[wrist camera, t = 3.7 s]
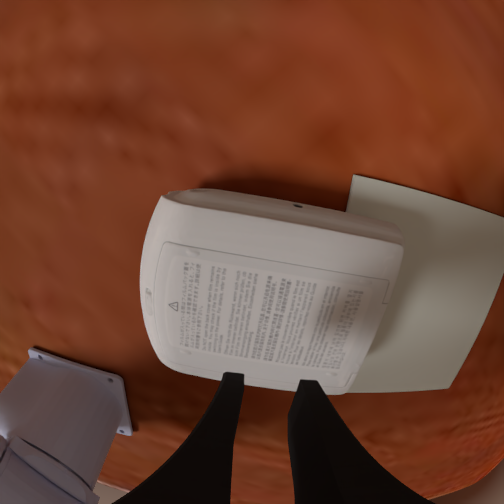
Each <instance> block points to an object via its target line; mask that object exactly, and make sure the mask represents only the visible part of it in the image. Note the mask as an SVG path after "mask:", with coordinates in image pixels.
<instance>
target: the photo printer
mask: <svg viewBox="0 0 504 504" xmlns="http://www.w3.org/2000/svg"><path fill="white" fill-rule="evenodd" d="M404 247H405V241H404V237H403V234H402V232H401V230H400V229H399V227H398V226H397V225H395V224H394V223H391V222H387V221H383V220H378V219H374V218H369V217H365V216H360V215H356V214H351V213H347V212H342V211H337V210H333V209H328V208H322V207H317V206H312V205H307V204H301V203H296V202H291V201H286V200H280V199H274V198H268V197H263V196H256V195H250V194H244V193H238V192H232V191H225V190H218V189H203V188H201V189H190V190H186V191H171V192H169V193H168V194H167V195H162V196H161V198H160V200H159V202H158V204H157V206H156V208H155V210H154V213H153V215H152V218H151V221H150V224H149V227H148V230H147V233H146V237H145V242H144V246H143V252H142V259H141V268H140V296H141V305H142V312H143V317H144V322H145V326H146V329H147V333H148V336H149V339H150V341H151V344H152V346H153V349H154V351H155V353H156V354H157V356H158V358H159V359H160V361H161V362H162V363H163V364H165V365H166V366H167V367H169V368H171V369H173V370H175V371H178V372H181V373H185V374H189V375H195V376H199V377H204V378H209V379H214V380H220V381H221V380H222V376H223V373H225V372H234V373H242V374H244V385H250V386H256V387H264V388H271V389H279V390H287V391H296V390H297V387H298V384H299V381H300V379H305V380H317V381H318V382H319V384H320V386H321V387H322V389H323V391H324V392H325V394H327V395H342V394H345V393H346V392H347V391H348V390H349V389H350V387H351V386H352V384H353V382H354V380H355V378H356V377H357V375H358V372H359V370H360V368H361V366H362V364H363V362H364V360H365V357H366V355H367V353H368V351H369V349H370V346H371V344H372V342H373V339H374V337H375V335H376V332H377V330H378V327H379V325H380V322H381V320H382V317H383V315H384V312H385V310H386V307H387V305H388V302H389V300H390V298H391V295H392V292H393V289H394V286H395V283H396V280H397V277H398V273H399V270H400V266H401V262H402V258H403V254H404Z"/></svg>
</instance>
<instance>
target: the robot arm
mask: <svg viewBox="0 0 504 504" xmlns="http://www.w3.org/2000/svg"><path fill="white" fill-rule="evenodd" d="M28 353H29V356H30V358H29V360H28V361H27V362H26V363H25V364H24V365H23V367H22V368H21V369H20V370H19V371H18V373H17V374H16V375H15V376H14V377H13V379H12V380H11V381H10V382H9V383H8V385H7V386H6V387H5V388H4V390H3V391H2V392H1V393H0V504H98V501H99V498H100V497H99V496H97V495H96V494H95V493H93V489H94V487H95V484H96V482H97V479H98V476H99V474H100V471H101V469H102V466H103V464H104V461H105V459H106V456H107V454H108V451H109V449H110V446H111V444H112V442H113V439H114V437H115V434H116V432H117V433H120V434H124V435H127V436H131V435H132V434H133V429H132V425H131V420H130V415H129V410H128V405H127V399H126V393H125V388H124V381H123V379H122V378H121V377H120V376H119V375H116V374H112V373H108V372H105V371H101V370H98V369H94V368H91V367H88V366H84V365H81V364H78V363H75V362H72V361H69V360H66V359H63V358H60V357H57V356H54V355H51V354H49V353H46V352H43V351H41V350H38V349H35V348H33V347H31V348H30V349H29V350H28ZM243 392H244V374H242V373H234V372H225V373H223V376H222V380H221V383H220V385H219V388H218V390H217V392H216V394H215V396H214V398H213V400H212V402H211V403H210V405H209V407H208V408H207V410H206V412H205V414H204V415H203V417H202V418H201V420H200V421H199V422H198V424H197V425H196V427H195V428H194V429H193V431H192V432H191V434H190V435H189V436H188V437H187V439H186V440H185V441H184V442H183V444H182V445H181V446H180V447H179V448H178V449H177V450H176V451H175V453H174V454H173V455H172V456H171V457H170V458H169V459H168V460H167V461H166V462H165V463H164V464H163V465H162V466H161V467H160V468H159V469H158V470H156V471H155V472H154V473H153V474H152V475H151V476H149V477H148V478H147V479H146V480H144V481H143V482H142V483H141V484H140V485H138V486H137V487H136V488H134V489H133V490H132V491H130V492H129V493H127V494H126V495H124V496H123V497H121V498H120V499H118V500H117V501H115V502H114V503H112V504H230V495H231V476H232V459H233V444H234V439H235V434H236V429H237V423H238V418H239V413H240V408H241V403H242V397H243ZM288 445H289V453H290V461H291V468H292V476H293V484H294V495H295V504H435V503H433V502H431V501H429V500H427V499H426V498H424V497H422V496H420V495H419V494H417V493H416V492H414V491H413V490H411V489H410V488H408V487H407V486H405V485H404V484H403V483H401V482H400V481H399V480H398V479H396V478H395V477H394V476H393V475H391V474H390V473H389V472H388V471H387V470H385V469H384V468H383V467H382V466H381V465H380V464H379V463H378V462H377V461H376V460H375V459H374V458H373V457H372V456H371V455H370V454H369V453H368V452H367V451H366V449H365V448H364V447H363V446H362V445H361V444H360V442H359V441H358V440H357V439H356V437H355V436H354V435H353V434H352V432H351V431H350V430H349V428H348V427H347V426H346V424H345V423H344V421H343V420H342V419H341V417H340V416H339V414H338V413H337V411H336V410H335V408H334V407H333V405H332V403H331V402H330V400H329V399H328V397H327V395H326V394H325V392H324V391H323V389H322V387H321V386H320V384H319V382H318V381H317V380H305V379H300V381H299V384H298V387H297V390H296V393H295V396H294V399H293V402H292V405H291V408H290V411H289V414H288Z"/></svg>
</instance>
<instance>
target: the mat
mask: <svg viewBox="0 0 504 504" xmlns="http://www.w3.org/2000/svg"><path fill="white" fill-rule="evenodd" d="M346 212H347V213H351V214H356V215H360V216H365V217H369V218H374V219H378V220H383V221H387V222H391V223H394V224H395V225H397V226H398V227H399V229H400V230H401V232H402V234H403V237H404V241H405V247H404V254H403V258H402V262H401V266H400V270H399V273H398V277H397V280H396V283H395V286H394V289H393V292H392V295H391V298H390V300H389V302H388V305H387V307H386V310H385V312H384V315H383V317H382V320H381V322H380V325H379V327H378V330H377V332H376V335H375V337H374V339H373V342H372V344H371V346H370V349H369V351H368V353H367V355H366V357H365V360H364V362H363V364H362V366H361V368H360V370H359V372H358V375H357V377H356V378H355V380H354V382H353V384H352V386H351V387H350V389H349V390H348V391H347V392H346V393H379V392H407V391H424V390H437V389H447V388H449V387H450V385H451V383H452V382H453V380H454V378H455V377H456V375H457V373H458V372H459V370H460V368H461V366H462V364H463V363H464V361H465V359H466V357H467V355H468V353H469V351H470V350H471V348H472V346H473V344H474V342H475V340H476V338H477V336H478V334H479V331H480V329H481V327H482V325H483V323H484V321H485V318H486V316H487V314H488V312H489V309H490V307H491V305H492V302H493V300H494V297H495V295H496V292H497V290H498V287H499V284H500V282H501V279H502V276H503V273H504V217H501V216H498V215H495V214H492V213H490V212H487V211H484V210H481V209H478V208H475V207H472V206H469V205H466V204H462V203H459V202H456V201H453V200H450V199H446V198H443V197H440V196H436V195H433V194H429V193H426V192H422V191H419V190H415V189H411V188H407V187H404V186H400V185H396V184H392V183H388V182H384V181H380V180H376V179H371V178H367V177H363V176H358V175H354V174H353V178H352V183H351V188H350V193H349V198H348V203H347V208H346Z"/></svg>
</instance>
